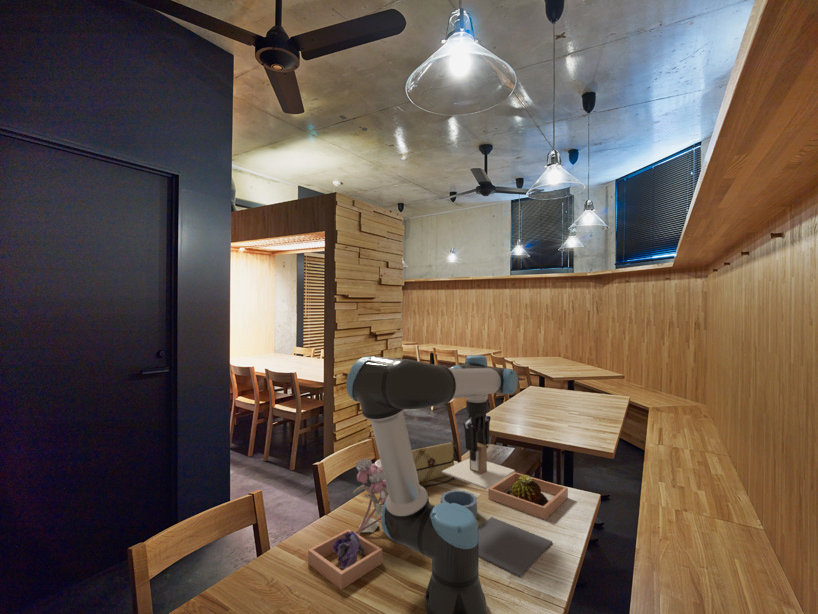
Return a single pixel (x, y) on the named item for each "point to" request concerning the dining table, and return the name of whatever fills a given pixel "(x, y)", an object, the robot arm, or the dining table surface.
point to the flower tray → (351, 572)
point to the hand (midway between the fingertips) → (478, 467)
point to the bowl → (461, 500)
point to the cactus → (528, 491)
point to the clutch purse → (434, 461)
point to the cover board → (478, 477)
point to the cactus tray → (526, 506)
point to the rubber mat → (509, 546)
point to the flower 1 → (348, 549)
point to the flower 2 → (371, 492)
